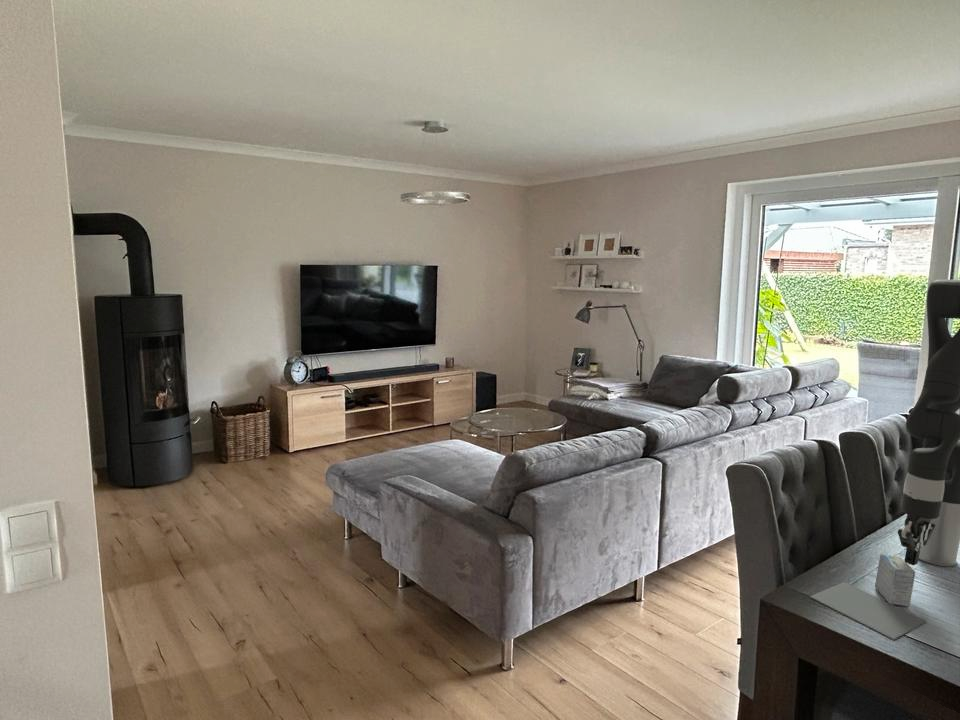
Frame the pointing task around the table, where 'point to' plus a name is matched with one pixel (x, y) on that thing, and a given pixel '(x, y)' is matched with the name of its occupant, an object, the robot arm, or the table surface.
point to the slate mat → (869, 610)
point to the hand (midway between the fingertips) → (910, 563)
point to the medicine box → (895, 580)
